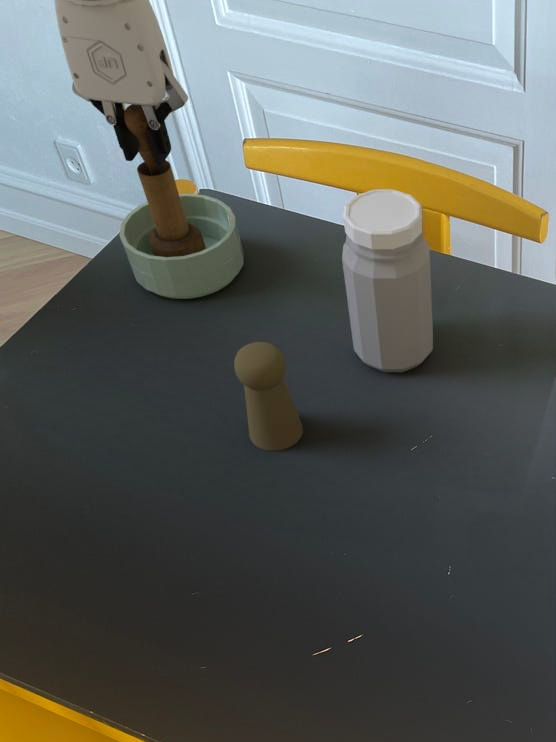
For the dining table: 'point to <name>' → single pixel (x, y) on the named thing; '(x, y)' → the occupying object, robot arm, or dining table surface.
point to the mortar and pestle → (162, 197)
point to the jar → (388, 280)
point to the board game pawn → (267, 397)
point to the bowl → (189, 271)
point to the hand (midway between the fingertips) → (148, 155)
